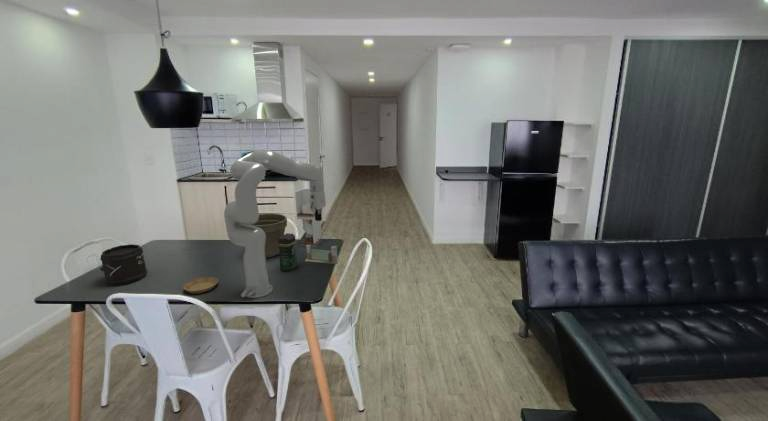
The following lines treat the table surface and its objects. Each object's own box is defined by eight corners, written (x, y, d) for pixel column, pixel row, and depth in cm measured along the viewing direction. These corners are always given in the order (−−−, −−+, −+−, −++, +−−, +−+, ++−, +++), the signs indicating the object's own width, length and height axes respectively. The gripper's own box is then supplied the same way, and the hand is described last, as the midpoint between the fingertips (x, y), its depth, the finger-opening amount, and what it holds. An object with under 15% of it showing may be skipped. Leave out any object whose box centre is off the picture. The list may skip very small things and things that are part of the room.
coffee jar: (291, 271, 181) (289, 238, 177) (278, 270, 183) (274, 237, 178) (299, 264, 190) (297, 232, 186) (286, 263, 192) (283, 231, 187)
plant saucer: (176, 294, 160) (175, 289, 159) (199, 280, 173) (199, 275, 173) (203, 297, 156) (203, 292, 156) (225, 283, 170) (224, 278, 170)
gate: (311, 259, 195) (310, 250, 194) (312, 258, 196) (312, 249, 195) (330, 261, 192) (330, 251, 191) (331, 260, 193) (331, 250, 192)
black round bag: (104, 277, 177) (97, 248, 173) (146, 268, 188) (140, 241, 184) (103, 290, 163) (96, 259, 159) (149, 280, 174) (143, 250, 170)
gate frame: (336, 264, 190) (335, 248, 188) (305, 261, 195) (303, 245, 192) (338, 261, 194) (338, 245, 192) (308, 258, 199) (307, 243, 196)
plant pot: (296, 253, 206) (294, 219, 200) (255, 265, 190) (251, 227, 185) (279, 243, 224) (276, 211, 219) (240, 252, 209) (236, 218, 203)
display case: (306, 239, 230) (303, 188, 221) (321, 240, 228) (318, 188, 219) (299, 245, 219) (295, 191, 210) (315, 246, 217) (311, 192, 208)
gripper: (316, 190, 181) (317, 224, 185) (329, 186, 195) (330, 217, 199) (303, 190, 183) (305, 223, 188) (317, 185, 197) (318, 216, 201)
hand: (318, 220), depth 193 cm, fingers closed
